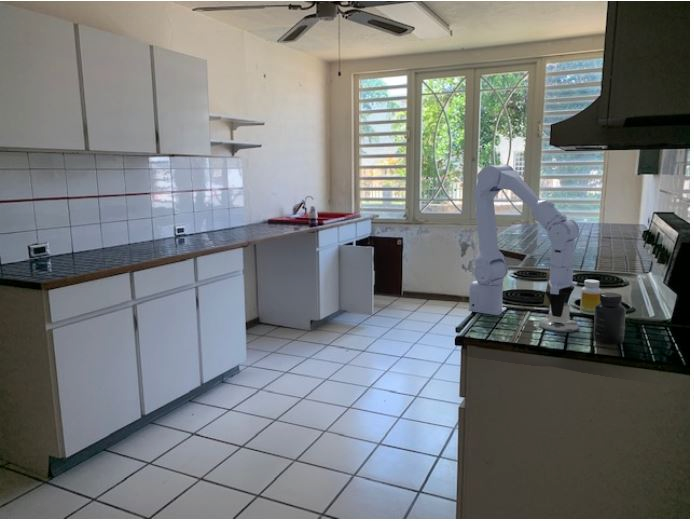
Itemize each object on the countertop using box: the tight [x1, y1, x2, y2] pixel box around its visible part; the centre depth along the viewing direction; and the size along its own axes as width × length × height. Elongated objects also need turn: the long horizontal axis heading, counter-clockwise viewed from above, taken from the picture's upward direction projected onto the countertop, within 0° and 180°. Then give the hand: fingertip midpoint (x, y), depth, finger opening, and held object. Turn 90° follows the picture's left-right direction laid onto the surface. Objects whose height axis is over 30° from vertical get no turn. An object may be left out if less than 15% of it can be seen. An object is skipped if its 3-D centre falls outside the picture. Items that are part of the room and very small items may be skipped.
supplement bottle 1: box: [579, 279, 602, 316], centre depth 148 cm, size 5×5×10 cm
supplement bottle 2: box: [593, 291, 627, 345], centre depth 125 cm, size 7×7×12 cm
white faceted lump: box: [547, 303, 571, 324], centre depth 137 cm, size 5×4×5 cm
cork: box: [543, 270, 550, 308], centre depth 157 cm, size 6×6×11 cm
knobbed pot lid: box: [538, 317, 579, 333], centre depth 137 cm, size 10×10×3 cm
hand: (558, 313), depth 137 cm, fingers closed on white faceted lump, 4 cm apart
